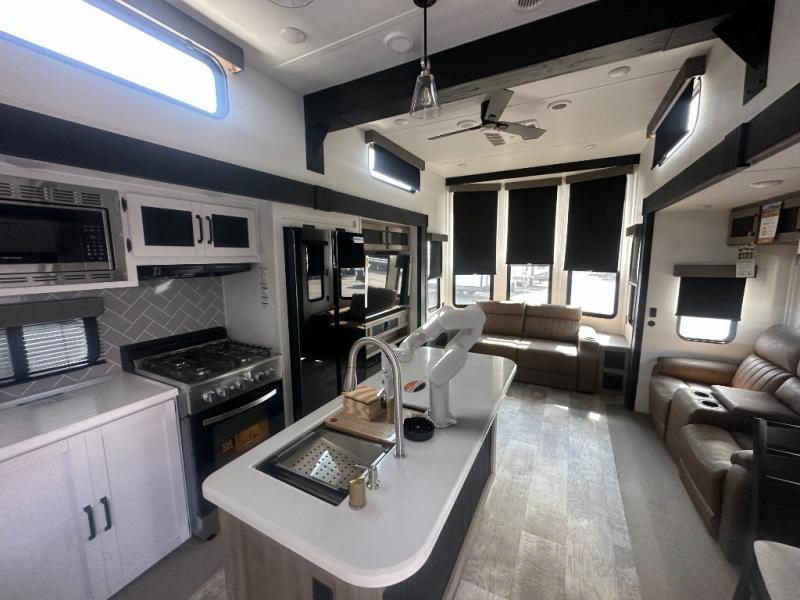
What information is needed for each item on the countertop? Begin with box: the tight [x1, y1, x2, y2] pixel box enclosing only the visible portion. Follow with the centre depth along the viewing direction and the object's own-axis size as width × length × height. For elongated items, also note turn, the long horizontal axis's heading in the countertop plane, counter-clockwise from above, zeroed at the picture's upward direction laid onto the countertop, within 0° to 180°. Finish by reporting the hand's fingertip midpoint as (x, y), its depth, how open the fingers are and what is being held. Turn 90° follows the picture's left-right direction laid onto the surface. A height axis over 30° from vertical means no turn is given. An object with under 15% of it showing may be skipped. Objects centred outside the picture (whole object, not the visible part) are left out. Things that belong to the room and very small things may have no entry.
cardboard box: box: [342, 395, 388, 422], centre depth 159 cm, size 18×14×8 cm
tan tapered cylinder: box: [386, 397, 395, 425], centre depth 148 cm, size 6×6×11 cm
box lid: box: [341, 384, 385, 404], centre depth 158 cm, size 18×14×1 cm
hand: (390, 404), depth 148 cm, fingers open, 9 cm apart
